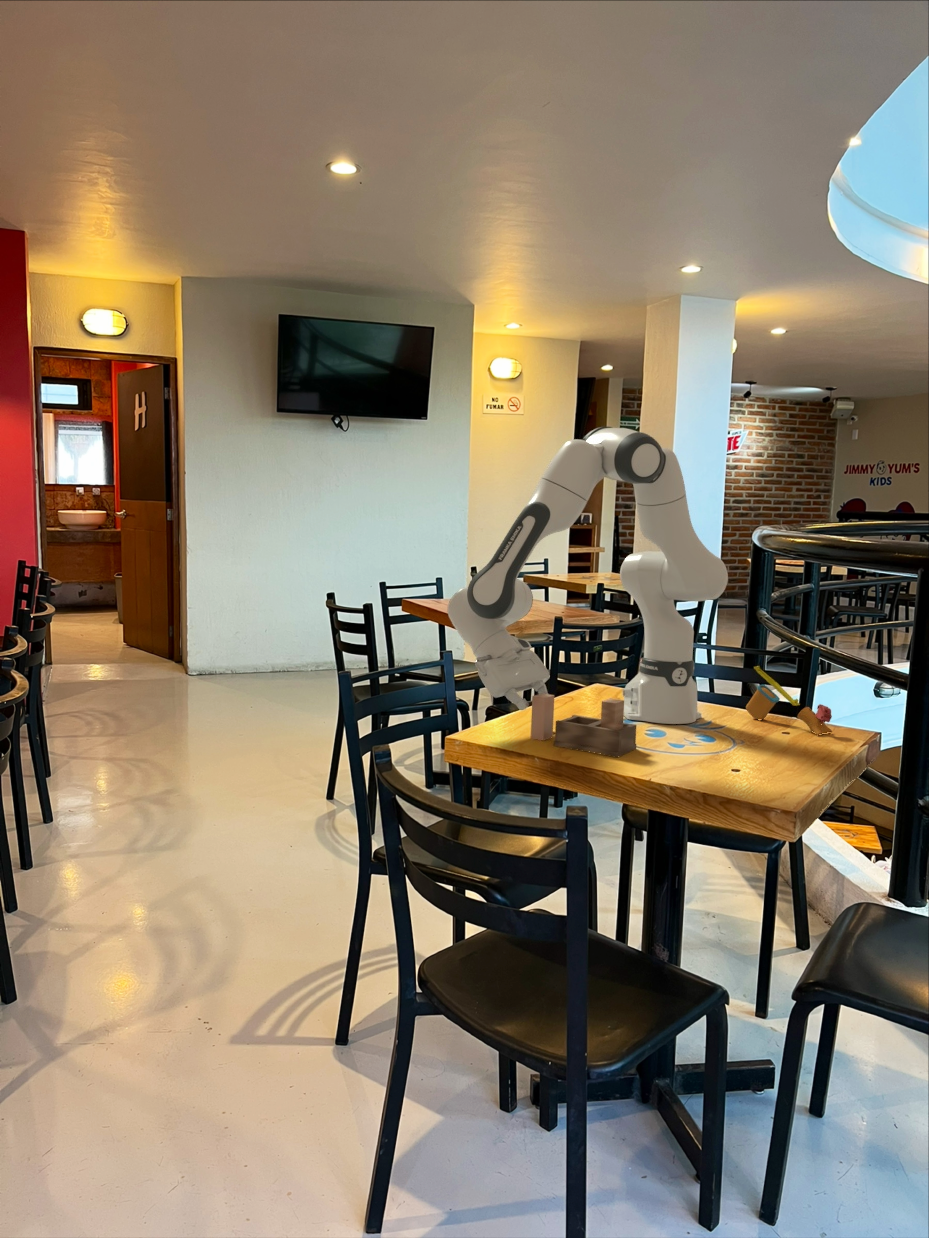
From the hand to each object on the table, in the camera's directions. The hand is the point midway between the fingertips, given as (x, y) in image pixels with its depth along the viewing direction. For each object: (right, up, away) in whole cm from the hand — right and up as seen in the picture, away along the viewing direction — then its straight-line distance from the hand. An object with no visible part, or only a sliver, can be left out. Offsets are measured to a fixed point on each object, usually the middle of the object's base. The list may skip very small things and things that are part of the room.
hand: (536, 704), depth 190 cm
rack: (+11, -8, -7) cm, 15 cm away
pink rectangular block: (+1, -7, 0) cm, 7 cm away
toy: (+59, -7, +18) cm, 62 cm away
